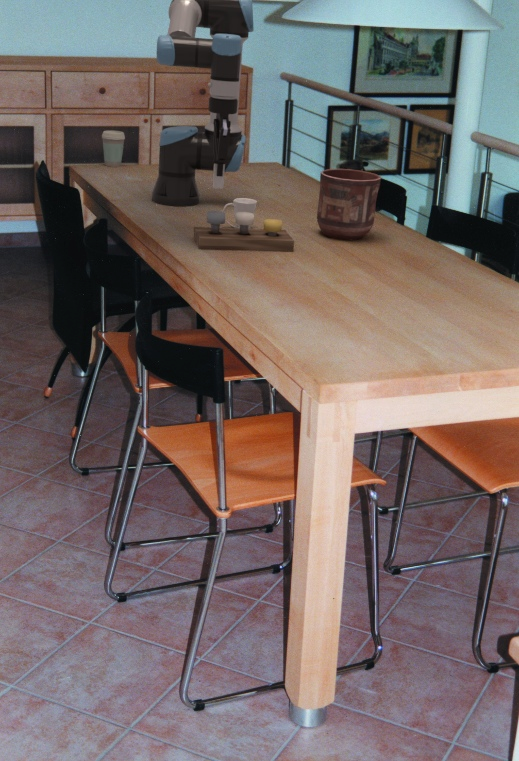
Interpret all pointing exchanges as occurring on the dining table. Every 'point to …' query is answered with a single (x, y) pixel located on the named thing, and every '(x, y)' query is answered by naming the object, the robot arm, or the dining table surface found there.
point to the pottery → (347, 203)
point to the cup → (242, 207)
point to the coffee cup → (113, 147)
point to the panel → (242, 240)
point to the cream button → (244, 221)
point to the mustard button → (272, 226)
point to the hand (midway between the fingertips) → (218, 187)
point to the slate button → (215, 220)
